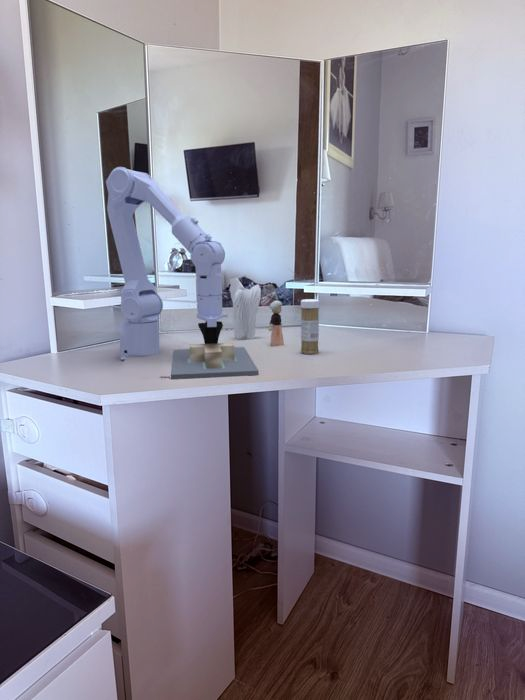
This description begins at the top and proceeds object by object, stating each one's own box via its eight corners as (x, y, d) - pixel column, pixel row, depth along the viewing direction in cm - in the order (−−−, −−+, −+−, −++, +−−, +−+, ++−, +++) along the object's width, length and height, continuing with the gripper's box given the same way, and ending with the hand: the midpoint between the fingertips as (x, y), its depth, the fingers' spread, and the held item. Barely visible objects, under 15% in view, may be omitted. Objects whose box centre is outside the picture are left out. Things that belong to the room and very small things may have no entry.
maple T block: (190, 369, 102) (189, 353, 102) (190, 359, 112) (189, 344, 111) (237, 367, 104) (237, 351, 103) (233, 357, 114) (232, 342, 113)
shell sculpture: (263, 342, 137) (262, 278, 134) (234, 344, 135) (233, 279, 131) (254, 337, 145) (254, 277, 142) (228, 339, 143) (226, 277, 139)
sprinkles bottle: (315, 350, 125) (316, 298, 123) (321, 354, 121) (321, 300, 118) (298, 351, 125) (298, 299, 122) (303, 355, 120) (303, 300, 117)
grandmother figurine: (281, 351, 125) (281, 302, 123) (266, 350, 126) (266, 301, 124) (286, 345, 133) (285, 299, 130) (272, 344, 134) (271, 298, 131)
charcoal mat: (170, 379, 98) (170, 374, 98) (173, 353, 124) (173, 349, 123) (258, 375, 101) (258, 370, 101) (244, 350, 126) (244, 346, 126)
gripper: (229, 297, 105) (231, 358, 107) (224, 292, 119) (225, 346, 121) (196, 298, 104) (199, 360, 106) (195, 292, 118) (197, 347, 120)
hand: (211, 353), depth 114 cm, fingers closed
